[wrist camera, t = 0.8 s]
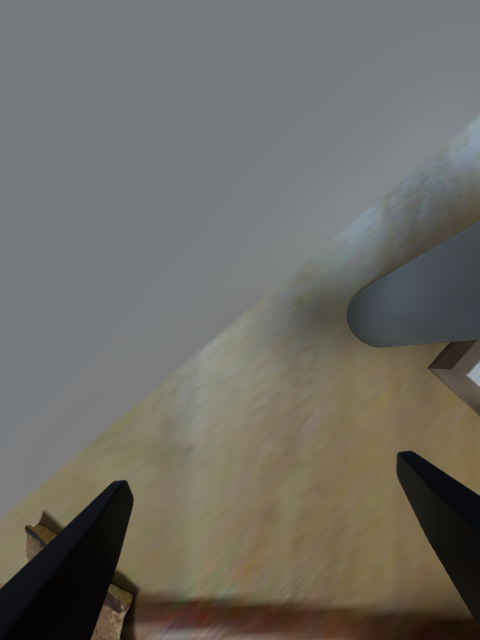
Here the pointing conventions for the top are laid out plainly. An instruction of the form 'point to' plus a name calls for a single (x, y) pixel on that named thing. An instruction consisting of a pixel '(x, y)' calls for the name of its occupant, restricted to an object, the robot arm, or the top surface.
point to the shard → (116, 599)
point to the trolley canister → (424, 297)
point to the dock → (461, 370)
